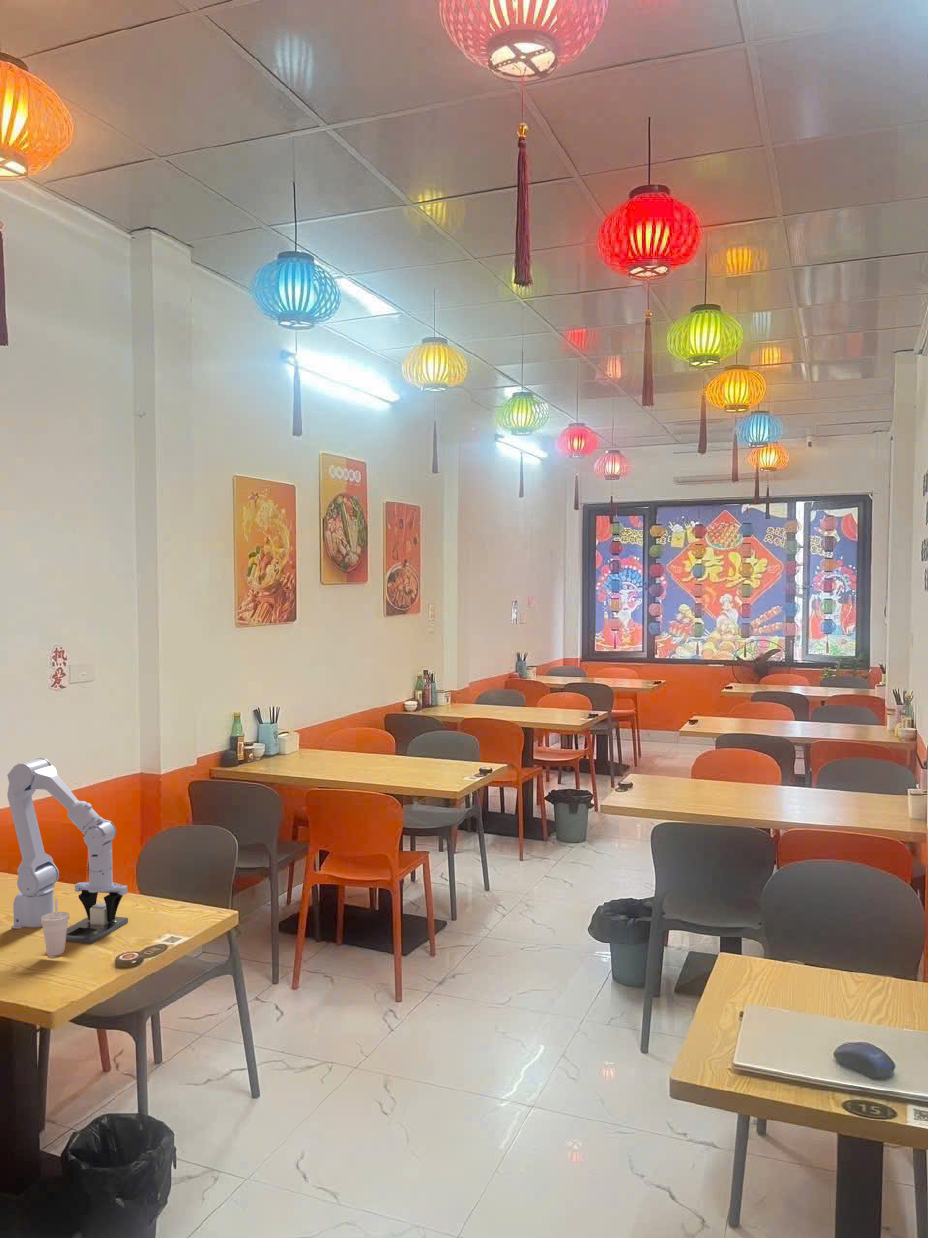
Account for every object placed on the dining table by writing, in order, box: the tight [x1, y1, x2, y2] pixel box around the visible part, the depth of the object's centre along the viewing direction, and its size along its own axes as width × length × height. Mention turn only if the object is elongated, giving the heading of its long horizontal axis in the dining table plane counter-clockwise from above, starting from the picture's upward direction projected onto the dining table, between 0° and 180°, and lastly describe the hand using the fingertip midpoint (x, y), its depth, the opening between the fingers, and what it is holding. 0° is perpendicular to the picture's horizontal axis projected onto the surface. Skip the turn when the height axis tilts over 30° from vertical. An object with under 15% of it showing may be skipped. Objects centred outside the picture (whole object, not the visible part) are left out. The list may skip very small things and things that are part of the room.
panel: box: [65, 916, 129, 945], centre depth 227 cm, size 11×15×2 cm
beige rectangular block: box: [90, 901, 109, 925], centre depth 231 cm, size 4×4×6 cm
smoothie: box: [41, 898, 70, 959], centre depth 213 cm, size 6×6×14 cm
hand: (101, 919), depth 231 cm, fingers open, 5 cm apart
